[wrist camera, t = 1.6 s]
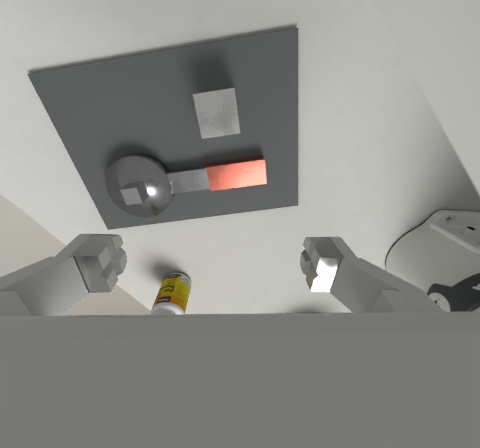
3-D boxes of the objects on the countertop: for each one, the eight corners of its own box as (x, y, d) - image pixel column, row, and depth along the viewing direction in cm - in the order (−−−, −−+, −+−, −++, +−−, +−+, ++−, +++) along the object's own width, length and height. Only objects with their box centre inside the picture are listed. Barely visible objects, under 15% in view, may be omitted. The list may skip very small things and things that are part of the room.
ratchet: (261, 134, 30) (265, 141, 26) (266, 195, 34) (270, 209, 30) (103, 157, 31) (81, 167, 27) (127, 213, 36) (113, 229, 31)
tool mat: (296, 29, 25) (298, 27, 24) (297, 203, 36) (298, 205, 35) (31, 74, 27) (27, 73, 26) (109, 227, 38) (108, 229, 37)
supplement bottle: (180, 266, 42) (166, 312, 34) (197, 284, 45) (187, 331, 36) (158, 277, 44) (138, 324, 35) (175, 294, 46) (161, 341, 37)
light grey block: (234, 88, 27) (234, 87, 22) (239, 127, 29) (240, 133, 25) (199, 94, 27) (192, 94, 23) (207, 131, 30) (201, 138, 25)
